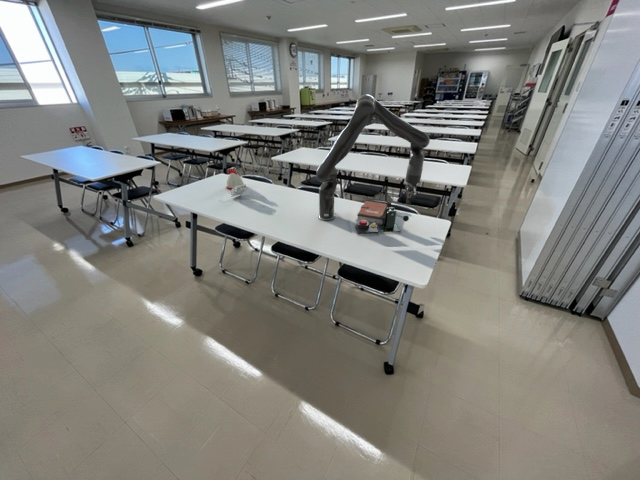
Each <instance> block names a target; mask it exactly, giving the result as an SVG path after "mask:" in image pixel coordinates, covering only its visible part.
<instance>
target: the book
mask: <svg viewBox="0 0 640 480" xmlns="http://www.w3.org/2000/svg"><path fill="white" fill-rule="evenodd" d="M391 207H392V202H391V201H381V200H374V199H366V200H365V201H364V203H363V204H362V205H361V207H360V209H359V211H358V213H357V214H356V216H357V220H358V221H360V220H366V221H367V222H369V223H375V224H384V221H385V214H386V208H391Z"/></svg>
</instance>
